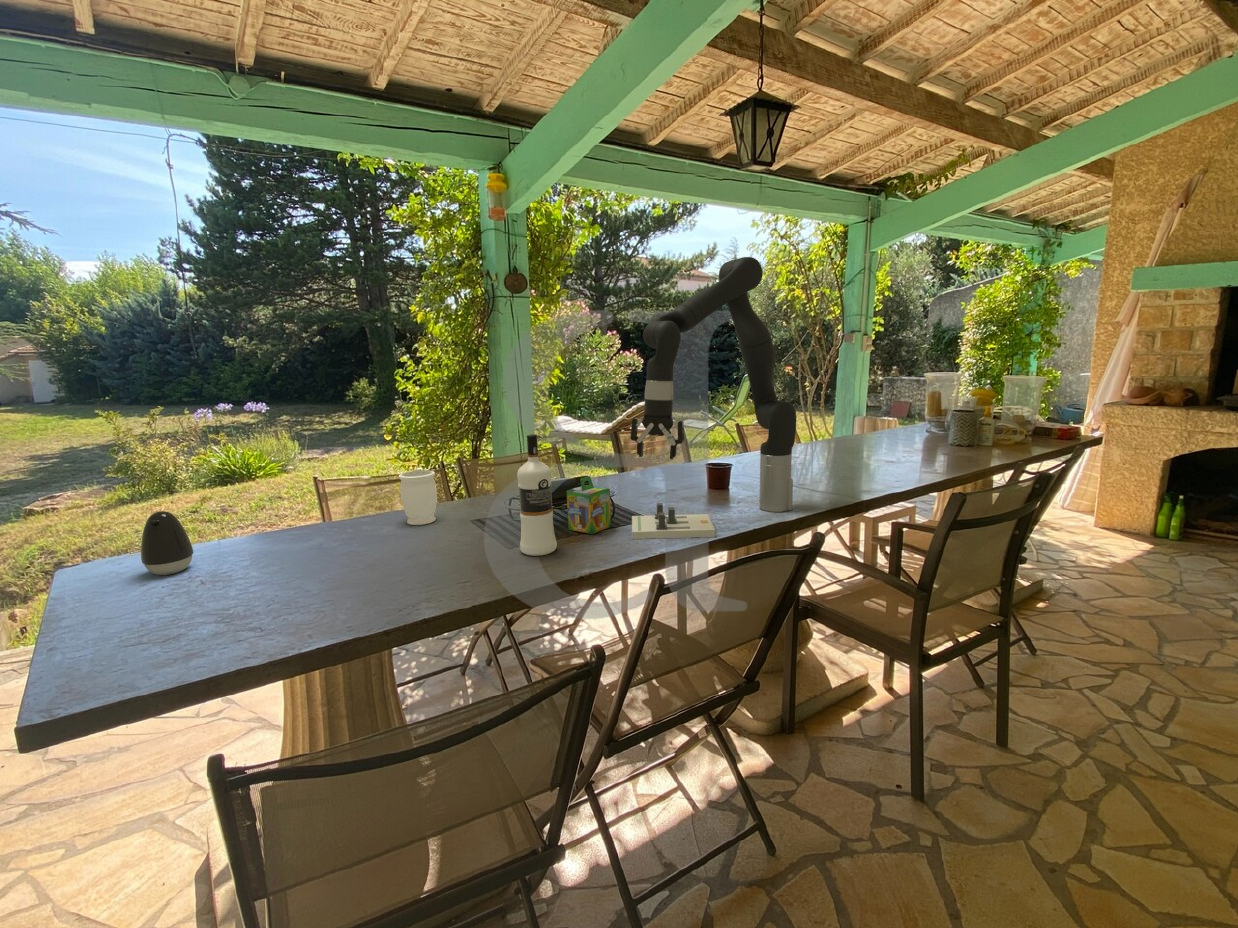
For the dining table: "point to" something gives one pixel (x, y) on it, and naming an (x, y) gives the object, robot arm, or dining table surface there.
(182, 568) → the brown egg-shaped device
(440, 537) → the dining table surface
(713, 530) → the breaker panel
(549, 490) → the vodka
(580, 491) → the chalk box
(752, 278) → the robot arm
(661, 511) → the handle
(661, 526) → the handle
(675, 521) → the handle
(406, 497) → the jar
